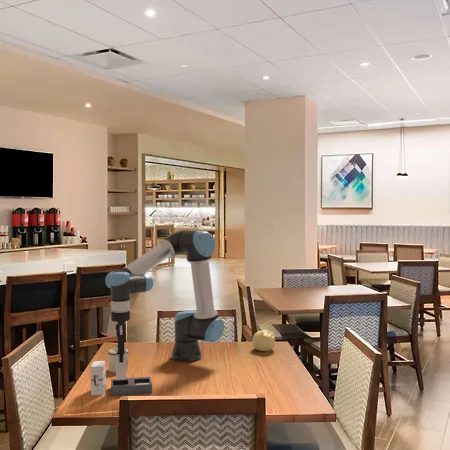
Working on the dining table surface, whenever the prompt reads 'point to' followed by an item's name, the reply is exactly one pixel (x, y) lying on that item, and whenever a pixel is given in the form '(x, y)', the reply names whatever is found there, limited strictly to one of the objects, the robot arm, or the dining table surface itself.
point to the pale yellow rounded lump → (263, 340)
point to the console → (131, 386)
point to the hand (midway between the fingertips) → (121, 367)
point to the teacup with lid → (113, 360)
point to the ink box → (98, 378)
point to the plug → (120, 373)
